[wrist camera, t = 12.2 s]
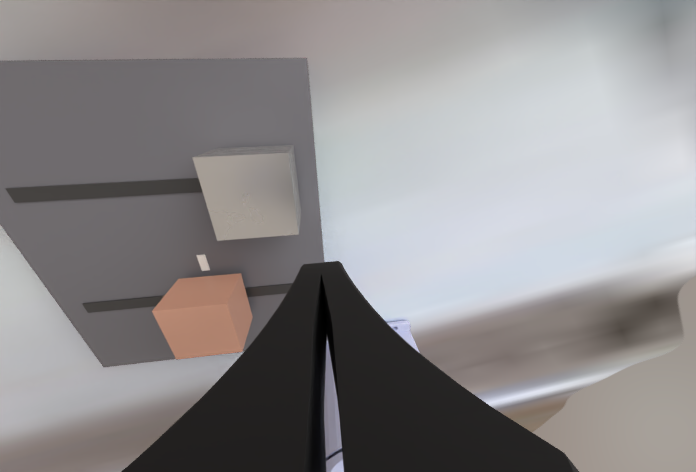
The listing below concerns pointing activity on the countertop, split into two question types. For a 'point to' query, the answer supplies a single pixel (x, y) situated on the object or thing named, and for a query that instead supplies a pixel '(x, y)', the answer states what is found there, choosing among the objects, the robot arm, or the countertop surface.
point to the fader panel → (146, 185)
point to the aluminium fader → (250, 191)
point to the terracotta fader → (205, 316)
